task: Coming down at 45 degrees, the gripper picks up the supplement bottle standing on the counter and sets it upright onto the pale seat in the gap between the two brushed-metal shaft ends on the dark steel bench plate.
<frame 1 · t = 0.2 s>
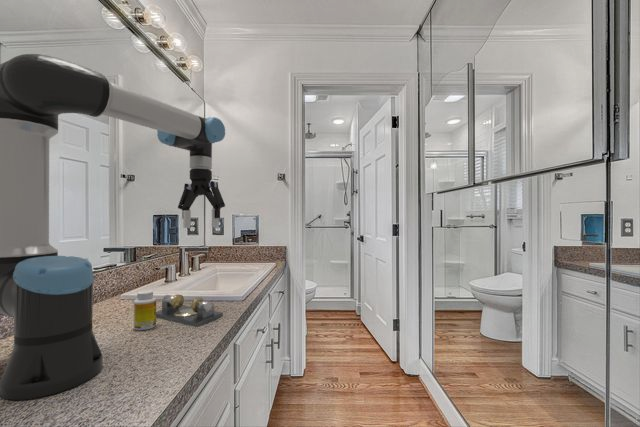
hand: (200, 228, 109), 28 cm above the countertop, tool pointing down, fingers open, 13 cm apart
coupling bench: (187, 316, 96), on the countertop
supplement bottle: (145, 328, 86), on the countertop
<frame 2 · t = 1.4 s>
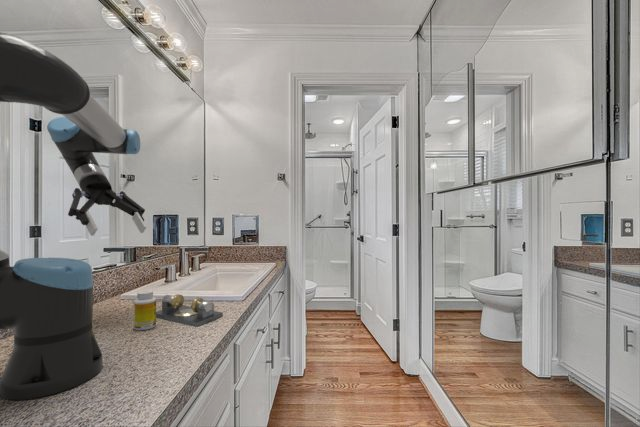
hand: (120, 231, 88), 28 cm above the countertop, tool tilted 45°, fingers open, 13 cm apart
nothing on the countertop moved.
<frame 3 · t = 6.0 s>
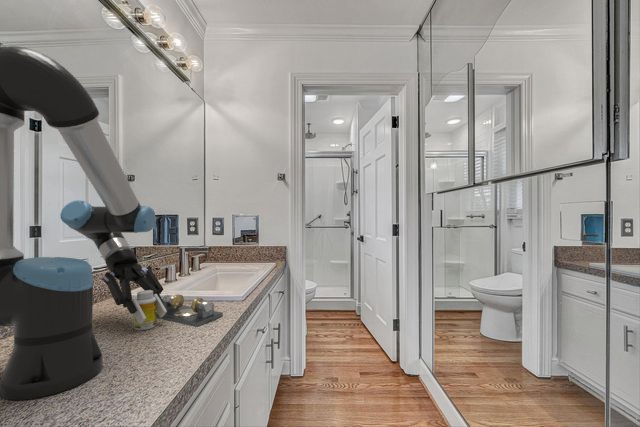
hand: (153, 317, 85), 3 cm above the countertop, tool tilted 45°, fingers closed on supplement bottle, 5 cm apart
supplement bottle: (145, 328, 86), on the countertop, touching gripper
when the fingers open (6 cm above the countertop, at t = 10.3 s): supplement bottle drops 1 cm, resting on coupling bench.
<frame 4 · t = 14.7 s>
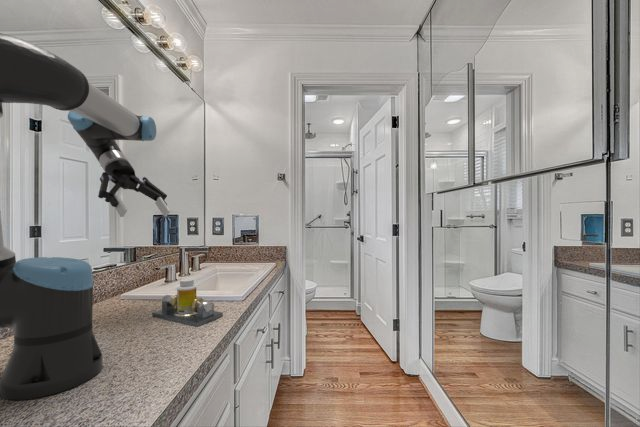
hand: (147, 213, 91), 33 cm above the countertop, tool tilted 45°, fingers open, 13 cm apart
supplement bottle: (186, 312, 96), point 1 cm above the countertop, touching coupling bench
at the end: supplement bottle inside the target area on the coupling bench (0.1 cm from its centre), point 1.2 cm above the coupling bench's base; supplement bottle tilted 0°; the gripper is holding nothing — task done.
